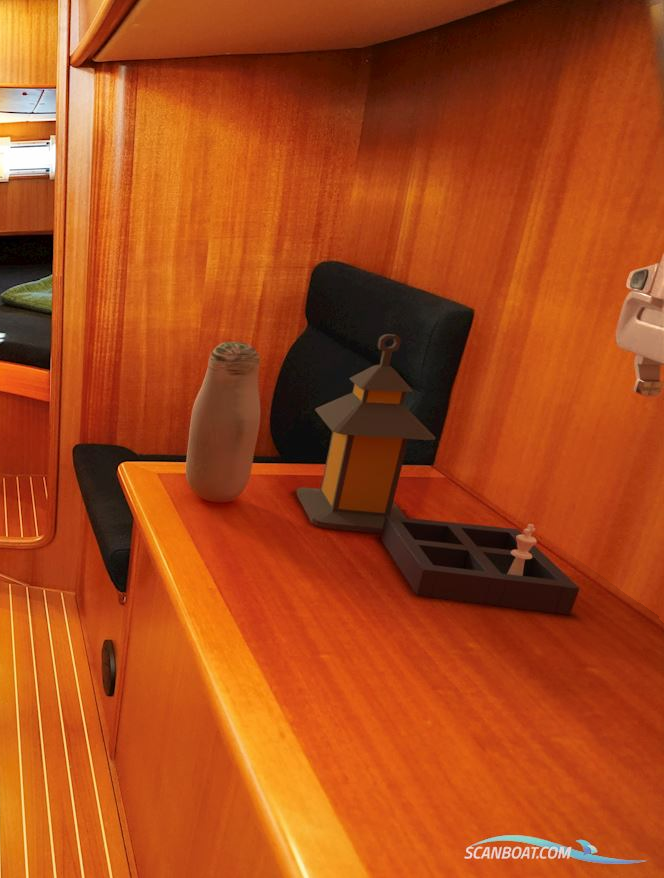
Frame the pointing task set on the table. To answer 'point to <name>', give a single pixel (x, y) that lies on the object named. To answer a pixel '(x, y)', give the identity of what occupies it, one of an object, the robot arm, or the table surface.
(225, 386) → the beige bottle
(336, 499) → the lantern
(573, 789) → the table surface
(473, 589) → the compartment tray
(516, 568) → the chess piece
